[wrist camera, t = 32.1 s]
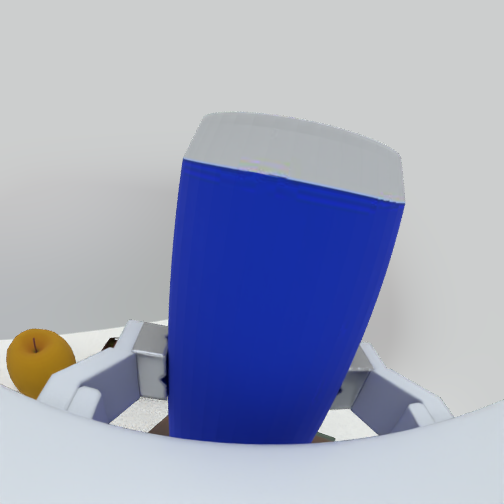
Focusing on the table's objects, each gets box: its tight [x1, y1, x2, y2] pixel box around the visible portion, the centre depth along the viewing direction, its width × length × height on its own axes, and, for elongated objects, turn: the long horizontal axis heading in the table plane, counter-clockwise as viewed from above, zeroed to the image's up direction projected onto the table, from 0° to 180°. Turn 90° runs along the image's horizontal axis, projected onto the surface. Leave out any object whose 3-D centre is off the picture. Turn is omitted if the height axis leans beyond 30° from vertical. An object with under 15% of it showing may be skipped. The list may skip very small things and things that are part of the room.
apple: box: [6, 329, 76, 400], centre depth 24 cm, size 9×9×9 cm
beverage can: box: [168, 112, 405, 444], centre depth 9 cm, size 5×5×15 cm
